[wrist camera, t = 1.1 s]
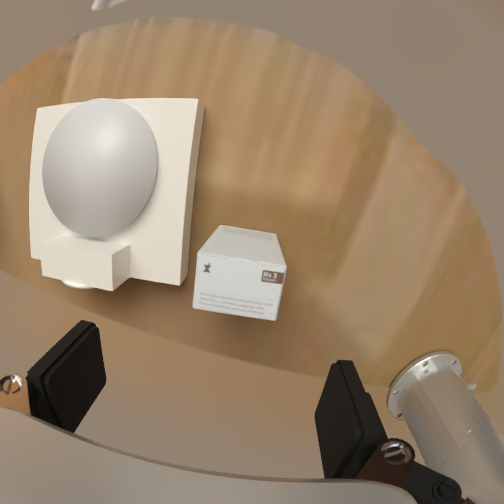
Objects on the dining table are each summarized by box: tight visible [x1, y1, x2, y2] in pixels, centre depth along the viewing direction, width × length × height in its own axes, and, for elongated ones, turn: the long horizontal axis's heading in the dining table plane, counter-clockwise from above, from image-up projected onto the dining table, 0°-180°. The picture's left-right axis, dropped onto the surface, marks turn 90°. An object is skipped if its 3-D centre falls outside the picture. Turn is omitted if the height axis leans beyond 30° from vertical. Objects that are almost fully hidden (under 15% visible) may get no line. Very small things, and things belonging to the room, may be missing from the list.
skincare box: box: [192, 225, 287, 321], centre depth 26 cm, size 6×4×12 cm
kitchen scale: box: [29, 98, 205, 291], centre depth 27 cm, size 20×18×8 cm
